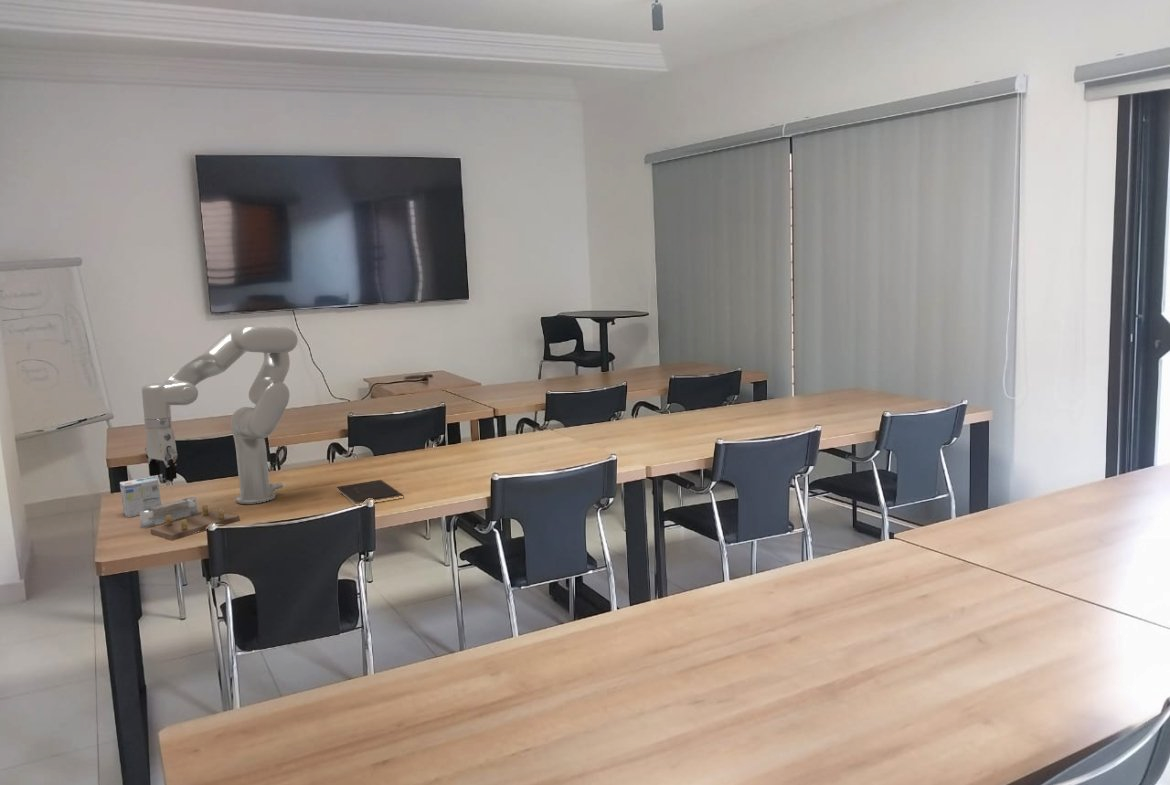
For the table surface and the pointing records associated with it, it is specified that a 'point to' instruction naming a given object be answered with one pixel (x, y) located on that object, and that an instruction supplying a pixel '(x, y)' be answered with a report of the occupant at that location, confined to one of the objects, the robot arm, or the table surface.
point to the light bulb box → (140, 495)
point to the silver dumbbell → (168, 512)
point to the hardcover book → (368, 491)
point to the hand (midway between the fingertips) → (163, 477)
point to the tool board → (193, 523)
